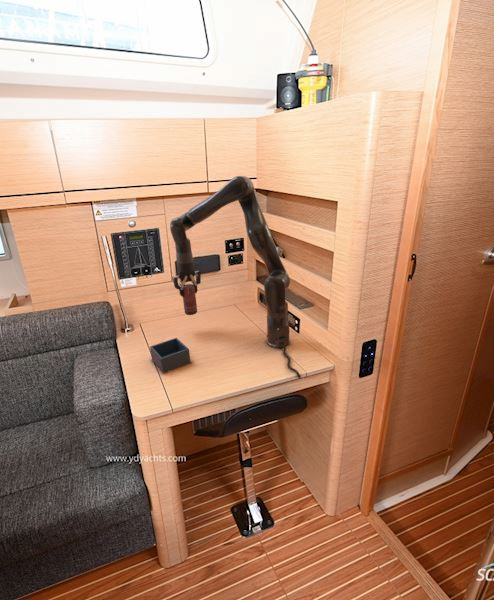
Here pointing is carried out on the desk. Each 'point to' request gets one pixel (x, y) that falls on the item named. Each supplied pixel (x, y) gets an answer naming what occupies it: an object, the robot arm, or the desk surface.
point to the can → (189, 299)
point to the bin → (170, 355)
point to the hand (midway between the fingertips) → (189, 294)
